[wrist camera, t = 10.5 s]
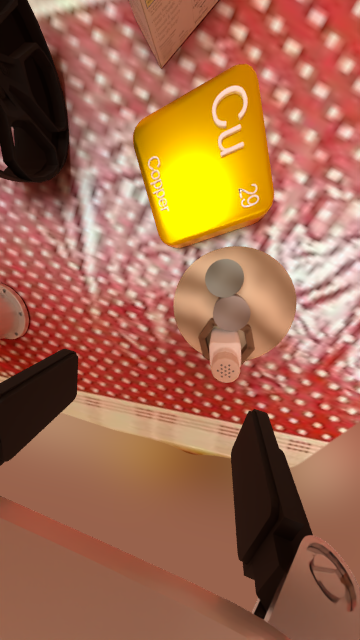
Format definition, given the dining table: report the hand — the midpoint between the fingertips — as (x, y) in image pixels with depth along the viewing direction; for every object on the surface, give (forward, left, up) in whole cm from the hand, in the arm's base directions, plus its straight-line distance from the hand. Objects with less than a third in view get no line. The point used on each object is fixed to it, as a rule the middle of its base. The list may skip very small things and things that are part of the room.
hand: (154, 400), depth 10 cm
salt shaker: (-2, -6, -21) cm, 22 cm away
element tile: (+16, +9, -24) cm, 30 cm away
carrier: (+3, -4, -23) cm, 23 cm away
